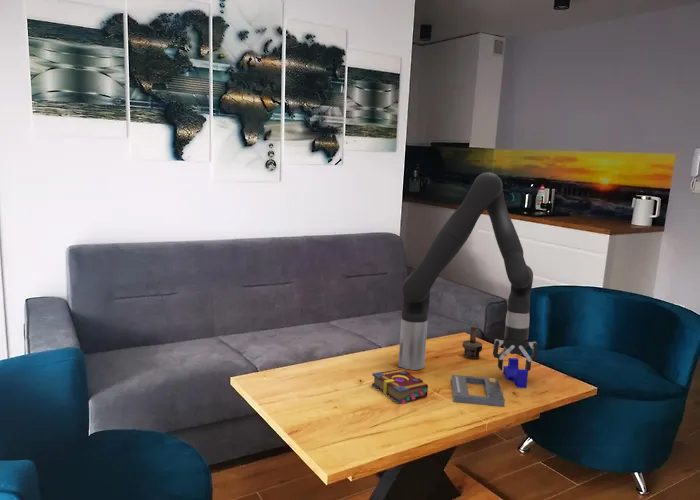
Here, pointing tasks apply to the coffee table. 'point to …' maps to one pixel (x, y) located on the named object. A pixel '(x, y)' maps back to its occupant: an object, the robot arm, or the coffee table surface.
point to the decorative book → (400, 385)
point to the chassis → (463, 395)
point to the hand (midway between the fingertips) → (513, 370)
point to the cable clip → (515, 373)
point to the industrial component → (472, 345)
